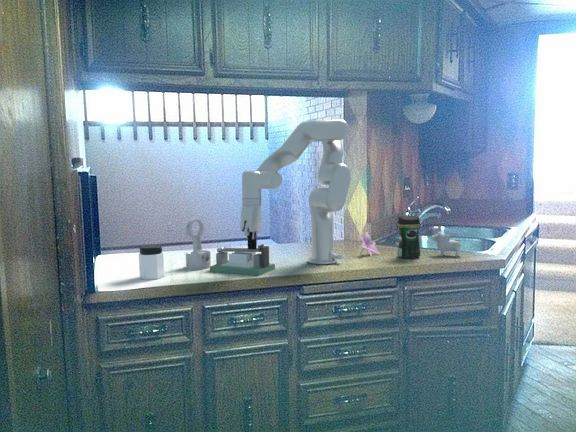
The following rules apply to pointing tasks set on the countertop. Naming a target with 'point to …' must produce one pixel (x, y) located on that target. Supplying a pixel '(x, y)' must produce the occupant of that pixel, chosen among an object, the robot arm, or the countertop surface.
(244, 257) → the base
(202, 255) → the engine component
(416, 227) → the coffee jar
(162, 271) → the jar
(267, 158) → the robot arm
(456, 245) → the dog figurine
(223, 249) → the thin grey bar
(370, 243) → the lily
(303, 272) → the countertop surface
